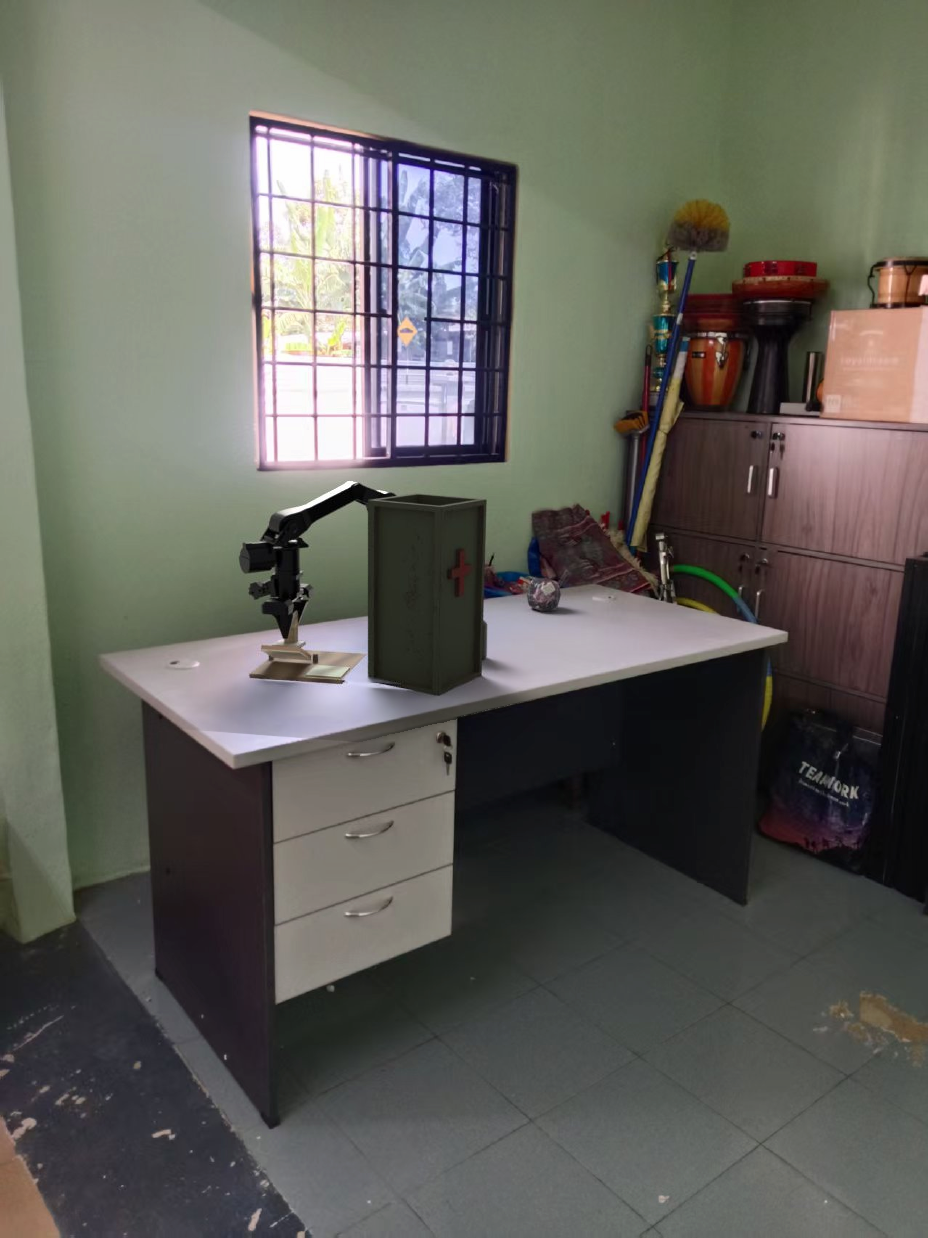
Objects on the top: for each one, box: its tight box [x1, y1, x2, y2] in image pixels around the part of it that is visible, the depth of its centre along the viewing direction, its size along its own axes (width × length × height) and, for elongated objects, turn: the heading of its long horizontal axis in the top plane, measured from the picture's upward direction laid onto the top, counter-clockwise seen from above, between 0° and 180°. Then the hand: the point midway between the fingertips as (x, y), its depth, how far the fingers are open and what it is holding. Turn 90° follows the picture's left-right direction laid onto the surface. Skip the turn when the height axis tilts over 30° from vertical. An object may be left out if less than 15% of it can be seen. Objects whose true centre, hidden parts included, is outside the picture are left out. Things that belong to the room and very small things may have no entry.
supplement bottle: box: [482, 614, 488, 661], centre depth 235 cm, size 7×7×12 cm
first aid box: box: [367, 492, 488, 697], centre depth 215 cm, size 18×18×40 cm
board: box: [248, 649, 367, 685], centre depth 225 cm, size 21×22×3 cm
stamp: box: [271, 610, 307, 648], centre depth 223 cm, size 6×6×8 cm
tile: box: [260, 644, 311, 660], centre depth 222 cm, size 9×9×1 cm
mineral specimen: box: [526, 577, 562, 612], centre depth 290 cm, size 10×10×10 cm
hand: (289, 635), depth 223 cm, fingers open, 5 cm apart
